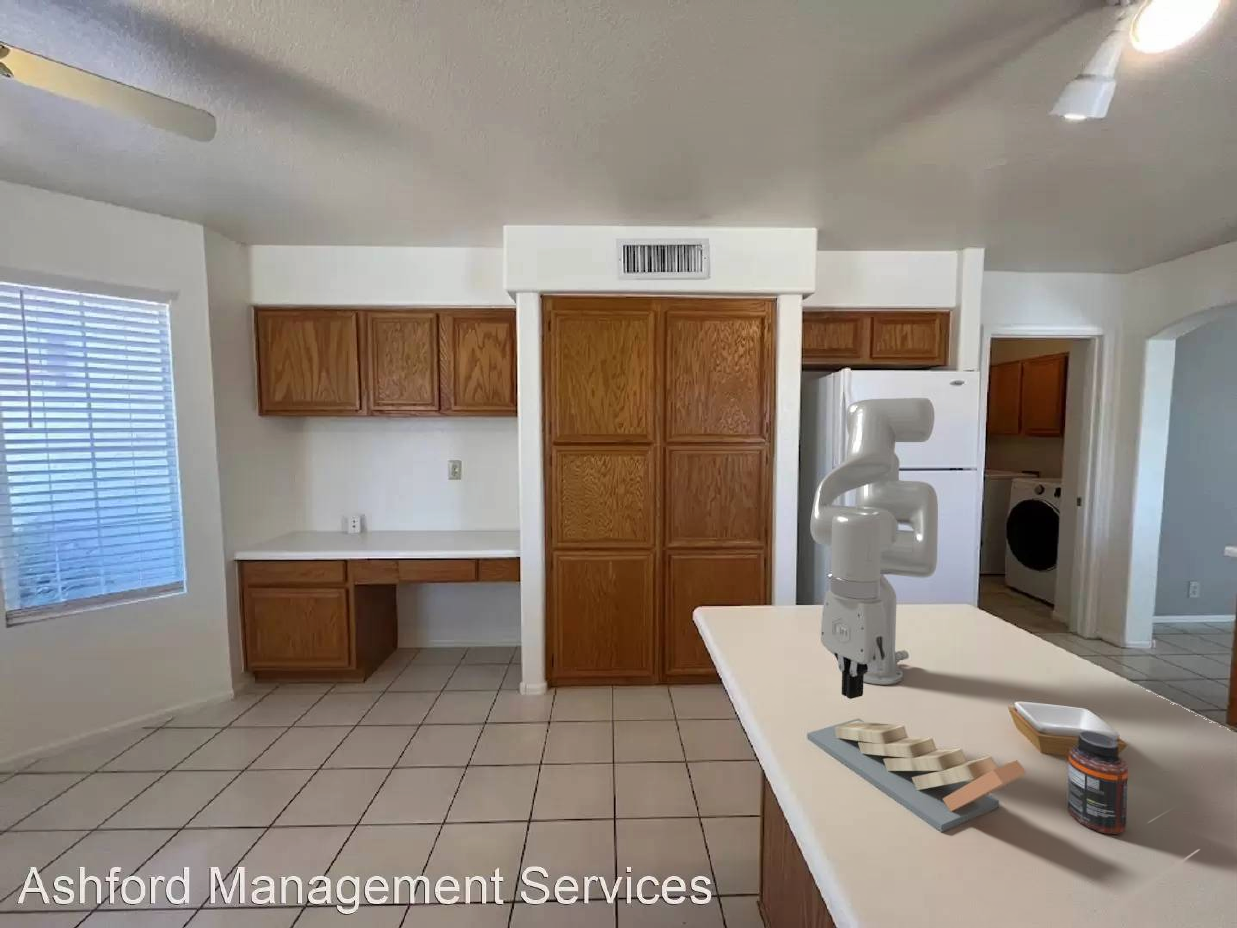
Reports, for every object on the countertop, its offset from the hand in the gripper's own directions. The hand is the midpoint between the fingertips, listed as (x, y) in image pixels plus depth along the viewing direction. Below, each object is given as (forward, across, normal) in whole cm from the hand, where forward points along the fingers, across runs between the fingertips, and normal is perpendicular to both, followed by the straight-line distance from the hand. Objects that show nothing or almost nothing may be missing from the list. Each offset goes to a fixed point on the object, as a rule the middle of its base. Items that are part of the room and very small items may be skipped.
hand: (852, 695), depth 91 cm
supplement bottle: (+8, +27, +15) cm, 32 cm away
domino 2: (+6, +4, 0) cm, 8 cm away
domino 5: (+7, +18, 0) cm, 19 cm away
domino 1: (+6, -1, 0) cm, 6 cm away
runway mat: (+8, +8, 0) cm, 12 cm away
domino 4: (+7, +14, 0) cm, 15 cm away
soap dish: (+9, +15, +32) cm, 36 cm away
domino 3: (+6, +9, 0) cm, 11 cm away
